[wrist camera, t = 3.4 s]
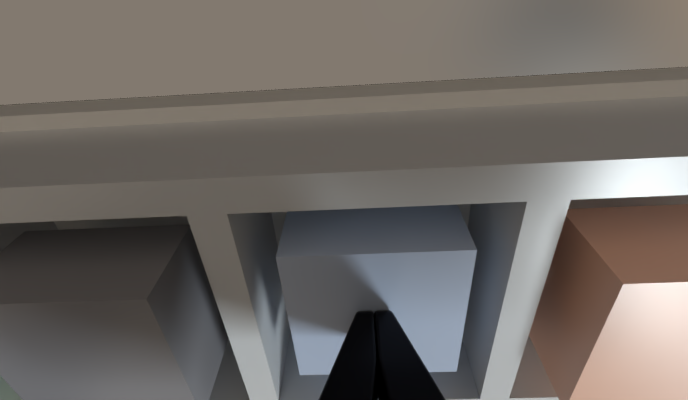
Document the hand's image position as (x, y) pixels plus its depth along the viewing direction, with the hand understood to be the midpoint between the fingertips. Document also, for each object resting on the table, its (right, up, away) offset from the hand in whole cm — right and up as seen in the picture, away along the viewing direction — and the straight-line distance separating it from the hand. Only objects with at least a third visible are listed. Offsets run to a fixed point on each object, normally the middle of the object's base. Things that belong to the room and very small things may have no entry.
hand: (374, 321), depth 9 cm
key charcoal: (-6, +1, +1) cm, 7 cm away
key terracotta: (+7, +1, +1) cm, 7 cm away
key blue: (0, +1, +2) cm, 2 cm away
